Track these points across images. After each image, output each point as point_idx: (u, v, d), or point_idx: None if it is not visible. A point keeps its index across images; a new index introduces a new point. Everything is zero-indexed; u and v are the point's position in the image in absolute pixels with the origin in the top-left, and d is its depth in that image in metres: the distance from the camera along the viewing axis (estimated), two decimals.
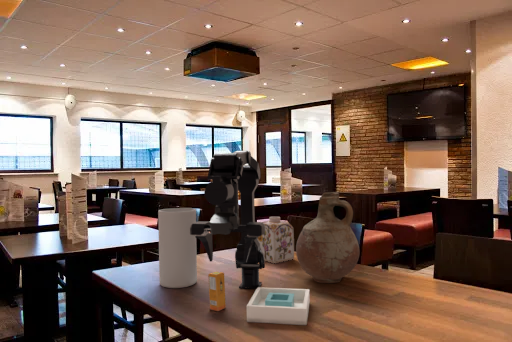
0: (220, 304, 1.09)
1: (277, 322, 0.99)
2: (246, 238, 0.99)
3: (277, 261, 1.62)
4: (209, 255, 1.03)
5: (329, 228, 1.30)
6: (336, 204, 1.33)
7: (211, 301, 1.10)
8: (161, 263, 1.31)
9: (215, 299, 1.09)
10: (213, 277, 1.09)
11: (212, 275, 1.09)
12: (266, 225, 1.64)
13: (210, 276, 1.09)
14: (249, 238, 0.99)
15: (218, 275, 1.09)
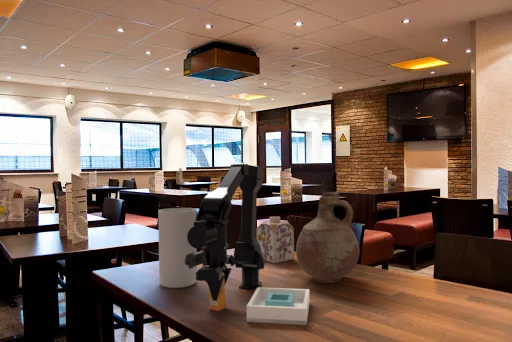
0: (220, 304, 1.09)
1: (277, 322, 0.99)
2: None
3: (277, 261, 1.62)
4: None
5: (329, 228, 1.30)
6: (336, 204, 1.33)
7: (211, 301, 1.10)
8: (161, 263, 1.31)
9: None
10: None
11: None
12: (266, 225, 1.64)
13: None
14: None
15: None
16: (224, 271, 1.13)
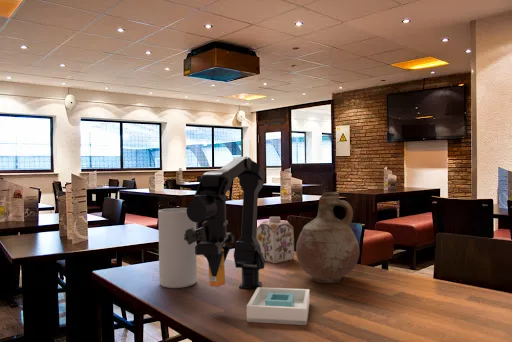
0: (219, 280, 1.09)
1: (277, 322, 0.99)
2: None
3: (277, 261, 1.62)
4: None
5: (329, 228, 1.30)
6: (336, 204, 1.33)
7: (210, 278, 1.09)
8: (161, 263, 1.31)
9: None
10: None
11: None
12: (266, 225, 1.64)
13: None
14: None
15: None
16: (223, 248, 1.13)
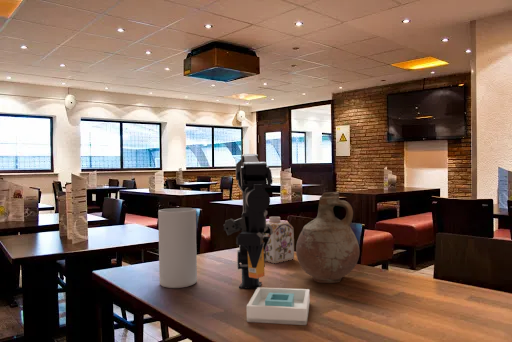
0: (259, 271, 1.07)
1: (277, 322, 0.99)
2: None
3: (277, 261, 1.62)
4: None
5: (329, 228, 1.30)
6: (336, 204, 1.33)
7: (250, 269, 1.07)
8: (161, 263, 1.31)
9: None
10: None
11: None
12: None
13: None
14: None
15: None
16: (263, 239, 1.10)
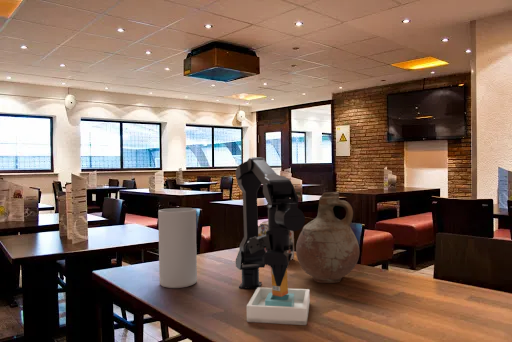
0: (283, 289, 1.06)
1: (277, 322, 0.99)
2: None
3: None
4: None
5: (329, 228, 1.30)
6: (336, 204, 1.33)
7: (273, 287, 1.07)
8: (161, 263, 1.31)
9: None
10: None
11: None
12: (266, 225, 1.64)
13: None
14: None
15: None
16: None
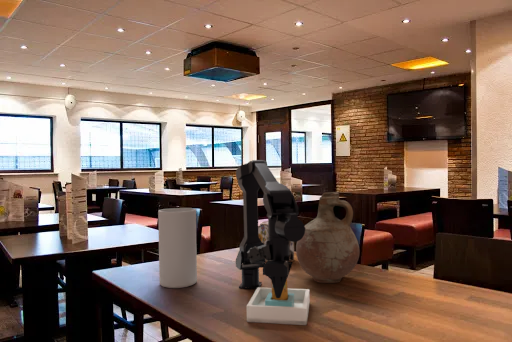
0: None
1: (277, 322, 0.99)
2: None
3: None
4: None
5: (329, 228, 1.30)
6: (336, 204, 1.33)
7: None
8: (161, 263, 1.31)
9: (279, 298, 1.05)
10: None
11: None
12: (266, 225, 1.64)
13: None
14: None
15: None
16: None
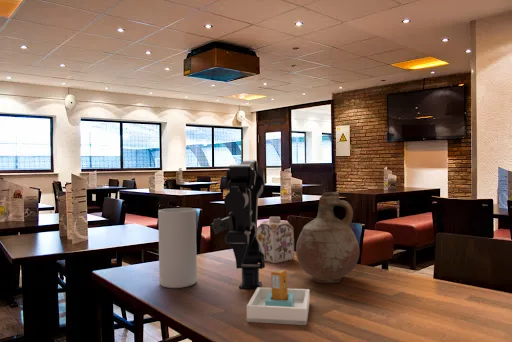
0: None
1: (277, 322, 0.99)
2: None
3: (277, 261, 1.62)
4: None
5: (329, 228, 1.30)
6: (336, 204, 1.33)
7: None
8: (161, 263, 1.31)
9: (279, 298, 1.05)
10: (277, 275, 1.06)
11: (275, 273, 1.06)
12: (266, 225, 1.64)
13: (273, 274, 1.06)
14: None
15: (282, 273, 1.06)
16: (249, 235, 1.20)
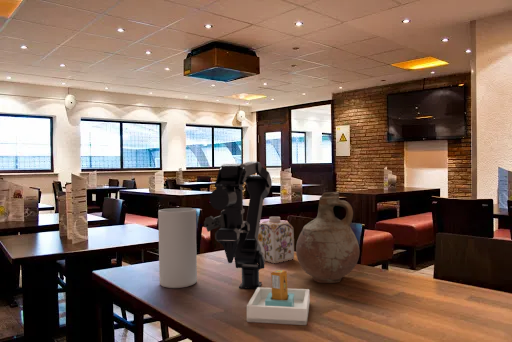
0: None
1: (277, 322, 0.99)
2: None
3: (277, 261, 1.62)
4: None
5: (329, 228, 1.30)
6: (336, 204, 1.33)
7: None
8: (161, 263, 1.31)
9: (279, 298, 1.05)
10: (277, 275, 1.06)
11: (275, 273, 1.06)
12: (266, 225, 1.64)
13: (273, 274, 1.06)
14: None
15: (282, 273, 1.06)
16: (242, 233, 1.22)
